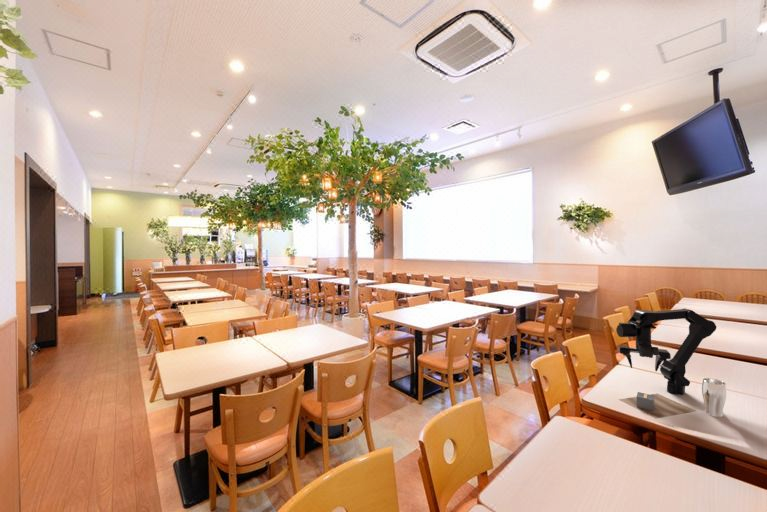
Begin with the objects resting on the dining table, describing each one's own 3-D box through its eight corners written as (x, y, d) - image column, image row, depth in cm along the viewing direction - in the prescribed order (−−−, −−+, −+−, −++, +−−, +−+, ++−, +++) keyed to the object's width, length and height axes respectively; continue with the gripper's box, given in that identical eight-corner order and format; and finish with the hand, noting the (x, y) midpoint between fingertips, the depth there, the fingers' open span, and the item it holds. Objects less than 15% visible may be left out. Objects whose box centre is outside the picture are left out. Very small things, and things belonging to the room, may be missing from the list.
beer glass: (718, 413, 133) (719, 378, 132) (730, 422, 126) (731, 386, 125) (697, 411, 135) (698, 376, 134) (708, 420, 128) (708, 383, 128)
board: (657, 396, 148) (657, 393, 148) (697, 414, 133) (697, 410, 133) (618, 402, 144) (618, 399, 144) (655, 421, 128) (655, 418, 128)
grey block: (653, 411, 133) (653, 400, 133) (636, 406, 137) (636, 396, 137) (654, 405, 137) (654, 395, 137) (637, 401, 141) (637, 391, 141)
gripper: (621, 339, 148) (621, 372, 149) (673, 344, 139) (674, 379, 139) (618, 333, 158) (618, 364, 159) (667, 337, 148) (667, 370, 149)
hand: (643, 369), depth 151 cm, fingers open, 9 cm apart
